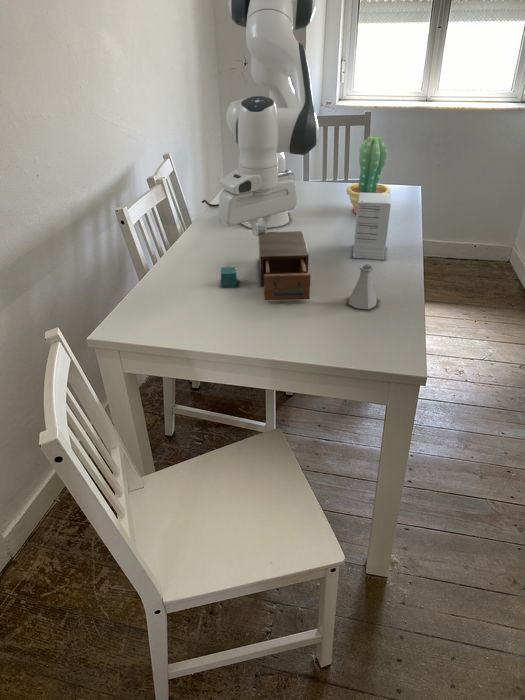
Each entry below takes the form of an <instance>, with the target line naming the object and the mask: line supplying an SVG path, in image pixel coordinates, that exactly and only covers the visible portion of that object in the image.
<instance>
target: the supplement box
mask: <svg viewBox="0 0 525 700" xmlns="http://www.w3.org/2000/svg"><path fill="white" fill-rule="evenodd" d="M391 197H392V195H391V193H390V194H385V193H359V200H358V204H357V213H356V215H355V216H356V217H355V229H354V239H353V240H354V241H353V251H352V258H355V259H367V260H382V261H383V260H384V259H385V255H386V254H385V253H386V246H387V237H388V232H389V223H390V222H389V221H390V214H391V206H392V203H391V199H392V198H391Z"/></svg>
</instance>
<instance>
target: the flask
mask: <svg viewBox="0 0 525 700" xmlns="http://www.w3.org/2000/svg"><path fill="white" fill-rule="evenodd" d="M373 269H374V266H373V265H372V264H371V265H370V264H367V263H366V264H365V263H362V264H361V265H359V277H358V280H357V282H356V284H355V287H354V288H353V290H352V292H351V294H350V296H349V299H348V303H347V304H348V305H349V306H352V307H353V308H356V309H362V310H370V309H372V308H374V307H376V306H377V301H378V299H377V296H376V292H375V289H374V285H373V282H372V281H373V280H372V271H373Z"/></svg>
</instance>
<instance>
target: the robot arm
mask: <svg viewBox="0 0 525 700" xmlns="http://www.w3.org/2000/svg"><path fill="white" fill-rule="evenodd" d="M316 6H317V0H228V9H229V10H228V11H229V13H230V16H231V20H232V22H233V23H234V24H235V25H236V26H239V27H243V28H245V40H246V41H245V42H246V47H247V50H248V52H249V54H250V55H251V56H250V74H251V77H252V79H253V80H254V82H255V83H256V84H258V85H259V86H261V87H263V88H266V89H267V90H268V91H269V95H268V96H267V95H266V96H264V95H254V96H250V97H245V98H240V99H237V100H234V101H232V102H231V103H230V104H229V105H228V108H227V110H226V113H225V114H226V115H225V117H226V119H225V120H226V124H227V128H228V129H229V130H230V132H231V133H232V135H234V136H235V143H236V144H237V146H238V149H239V159H238V167H237V168H235V169H234V170H232V171H231V172H229V173H228V174H226V175H224V176H223V177H221V178H220V180H219V186H220V188H221V189H222V190H221V191H220V193H219V197H218V203H216V204H212V203H210V202H209V201H208V200H206V199H202V201H201V203H202V204H204V203H205V204H206V205H208V206H209V207H211V208H214V207H218V216H219V220H220V222H221V223H223V224H224V225H226V226H228V227H232V226H236V225H240V224H241V225H243V226H245V227H246V228H248V229H252V235H253V236H255V237H259V235H262V234H266V233H267V232H268V231H267V229H268V228H277V227H278V228H279V227H282V226H285V225H286V224H288V223H289V222H290V218H289V211H293V210H294V209H295V208H296V207H297V204H298V199H297V188H296V175H295V174H294V172H293V171H291V170H289V169H287V170H286V157H285V154H290V155H299V156H305V155H307V154H308V153H309V152H311V151H312V150H313V149H314V148H315V147H316V146H317V143H318V141H319V140H318V139H319V132H320V131H319V130H320V129H319V122H318V119H317V118H318V117H317V114H316V112H315V106H314V98H313V89H312V81H311V76H310V75H311V74H310V68H309V62H308V61H309V60H308V55H307V52H306V49H305V46H304V44H303V43H301V42H299V41H298V40H297V39H296V37H295V35H294V32H293V30H295V31H298V30H302V29H306V28H307V27H308V26H309V25H311V21H312V19H314V18H313V17H314V15H315V12H316ZM292 83H293V84H292Z"/></svg>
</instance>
